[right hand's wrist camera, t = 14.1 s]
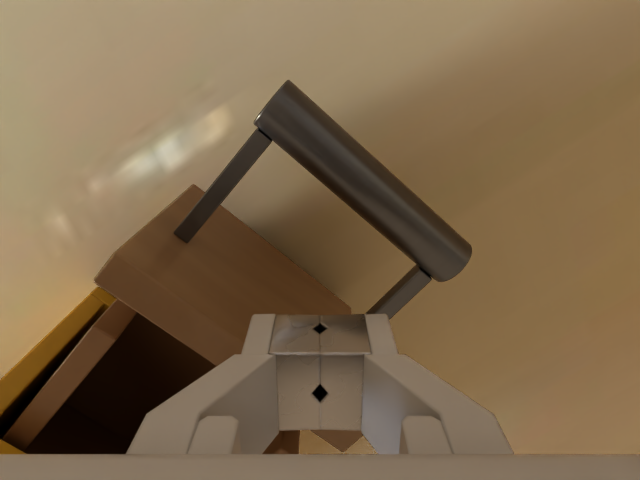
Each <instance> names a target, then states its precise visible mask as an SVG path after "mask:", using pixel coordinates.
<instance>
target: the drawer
mask: <svg viewBox="0 0 640 480" xmlns="http://www.w3.org/2000/svg"><path fill="white" fill-rule="evenodd" d="M254 125H255V126H257V127H258V128H257V129H256V130H255V132H254V133H253V134H252V135H251V137H250V138H249V139H248V140H247V141H246V143H245V144H244V145H243V146H242V148H241V149H240V150H239V151H238V153H237V154H236V155H235V156H234V158H233V159H232V160H231V161H230V163H229V164H228V165H227V166H226V168H225V169H224V170H223V171H222V173H221V174H220V175H219V176H218V177H217V179H216V180H215V181H214V182H213V184H212V185H211V186H210V187H209V189H208V190H207V191H206V192H204V191H202V190H201V189H200V188H198V187H197V186H196V185H194V184H193V185H191V186H190V187H189V188H188V189H187V190H186V191H184V192H183V193H182V194H181V195H180V196H179V197H178V198H176V199H175V200H174V201H173V202H172V203H171V204H169V205H168V206H167V207H166V208H165V209H164V210H163V211H161V212H160V213H159V214H158V215H157V216H156V217H154V218H153V219H152V220H151V221H150V222H149V223H148V224H146V225H145V226H144V227H143V228H142V229H141V230H140V231H138V232H137V233H136V234H135V235H134V236H133V237H131V238H130V239H129V240H128V241H127V242H126V243H125V244H123V245H122V246H121V247H120V248H119V249H118V250H116V251H115V252H114V253H113V255H112V256H111V257H110V258H109V260H108V261H107V262H106V264H105V265H104V266H103V268H102V269H101V270H100V271H99V273H98V274H97V275H96V277H95V278H94V283H95V284H97V285H98V286H100V287H101V288H103V289H104V290H106V291H107V292H109V293H110V294H112V295H113V296H115V297H116V298H117V299H116V300H115V301H114V302H113V303H112V304H111V305H110V307H109V308H108V309H107V310H106V311H105V312H104V313H103V314H102V315H101V316H100V318H99V319H98V320H97V321H96V322H95V323H94V324H93V325H92V327H91V328H90V329H89V330H88V332H87V333H86V334H85V335H84V337H83V338H82V339H81V340H80V342H79V343H78V344H77V345H76V347H75V348H74V349H73V350H72V352H71V353H70V354H69V355H68V357H67V358H66V359H65V360H64V362H63V363H62V364H61V365H60V367H59V368H58V369H57V370H56V372H55V373H54V374H53V375H52V377H51V378H50V379H49V380H48V382H47V383H46V384H45V385H44V387H43V388H42V389H41V390H40V392H39V393H38V394H37V395H36V397H35V398H34V399H33V400H32V402H31V403H30V404H29V405H28V407H27V408H26V409H25V410H24V412H23V413H22V414H21V415H20V417H19V418H18V419H17V420H16V422H15V423H14V424H13V425H12V427H11V428H10V429H9V430H8V432H7V433H6V434H5V435H4V437H3V438H2V439H1V440H3V441H5V442H7V443H8V444H10V445H12V446H14V447H15V448H17V449H19V450H21V451H23V452H24V453H26V454H126V452H127V450H128V448H129V447H130V445H131V443H132V441H133V439H134V437H135V435H136V433H137V431H138V429H139V427H140V425H141V423H142V422H143V420H144V418H145V416H146V414H147V413H148V412H150V411H151V410H153V409H154V408H156V407H157V406H159V405H160V404H162V403H163V402H165V401H166V400H168V399H169V398H171V397H172V396H174V395H175V394H177V393H178V392H180V391H181V390H183V389H184V388H186V387H187V386H188V385H190V384H191V383H193V382H194V381H196V380H197V379H199V378H200V377H202V376H203V375H205V374H206V373H208V372H209V371H211V370H212V369H214V368H215V367H217V366H218V365H220V364H221V363H223V362H224V361H226V360H227V359H229V358H230V357H232V356H233V355H234V354H241V353H242V349H243V346H244V342H245V339H246V335H247V332H248V328H249V325H250V321H251V318H252V316H253V315H254V314H276V315H277V314H296V315H351V308H350V307H349V306H348V305H347V304H345V303H344V302H343V301H342V300H340V299H339V298H338V297H337V296H335V295H334V294H333V293H331V292H330V291H329V290H328V289H326V288H325V287H324V286H323V285H321V284H320V283H319V282H318V281H316V280H315V279H314V278H312V277H311V276H310V275H309V274H307V273H306V272H305V271H304V270H302V269H301V268H300V267H299V266H297V265H296V264H295V263H293V262H292V261H291V260H290V259H288V258H287V257H286V256H285V255H283V254H282V253H281V252H280V251H278V250H277V249H276V248H274V247H273V246H272V245H271V244H269V243H268V242H267V241H266V240H264V239H263V238H262V237H261V236H259V235H258V234H257V233H255V232H254V231H253V230H252V229H250V228H249V227H248V226H247V225H245V224H244V223H243V222H242V221H240V220H239V219H238V218H236V217H235V216H234V215H233V214H231V213H230V212H229V211H228V210H226V209H225V208H224V207H223V206H221V205H220V204H221V203H222V202H223V200H224V199H225V198H226V197H227V196H228V194H229V193H230V192H231V191H232V189H233V188H234V187H235V186H236V185H237V183H238V182H239V181H240V180H241V179H242V177H243V176H244V175H245V174H246V172H247V171H248V170H249V169H250V168H251V166H252V165H253V164H254V163H255V162H256V160H257V159H258V158H259V157H260V156H261V154H262V153H263V152H264V151H265V149H266V148H267V147H268V146H269V145H270V143H271V142H272V141H274V142H275V143H276V144H277V145H279V146H280V147H281V148H282V149H283V150H284V151H286V152H287V153H288V154H289V155H290V156H291V157H293V158H294V159H295V160H296V161H297V162H298V163H300V164H301V165H302V166H303V167H304V168H305V169H307V170H308V171H309V172H310V173H311V174H312V175H314V176H315V177H316V178H317V179H318V180H319V181H321V182H322V183H323V184H324V185H325V186H326V187H327V188H329V189H330V190H331V191H332V192H333V193H334V194H336V195H337V196H338V197H339V198H340V199H341V200H343V201H344V202H345V203H346V204H347V205H348V206H350V207H351V208H352V209H353V210H354V211H355V212H357V213H358V214H359V215H360V216H361V217H362V218H364V219H365V220H366V221H367V222H368V223H369V224H371V225H372V226H373V227H374V228H375V229H376V230H377V231H379V232H380V233H381V234H382V235H383V236H384V237H386V238H387V239H388V240H389V241H390V242H391V243H393V244H394V245H395V246H396V247H397V248H398V249H400V250H401V251H402V252H403V253H404V254H405V255H407V256H408V257H409V258H410V259H411V260H412V261H414V262H415V263H416V265H415V266H414V267H413V268H412V269H411V270H410V271H409V272H408V273H407V274H406V275H405V276H404V277H403V278H402V279H401V280H400V281H399V282H398V283H397V284H396V285H395V286H394V287H393V288H392V289H390V290H389V291H388V292H387V293H386V294H385V295H384V296H383V297H382V298H381V299H380V300H379V301H378V302H377V303H376V304H375V305H374V306H373V307H372V308H371V309H370V310H369V311H368V312H367V313H366V314H387V315H388V318H389V319H390V318H392V317H393V316H394V315H395V314H396V313H397V312H398V311H399V310H400V309H401V308H402V307H403V306H404V305H405V304H406V303H407V302H409V301H410V300H411V299H412V298H413V297H414V296H415V295H416V294H417V293H418V292H419V291H420V290H421V289H422V288H423V287H425V286H426V285H427V284H428V283H429V282H430V281H431V277H432V278H433V279H434V280H436V281H438V282H444V281H447V280H450V279H451V278H453V277H455V276H456V275H457V274H458V273H459V272H460V271H461V270H462V269H463V268H464V267H465V266H466V264H467V263H468V261H469V259H470V257H471V254H472V248H471V245H470V244H469V243H468V242H467V241H466V240H465V239H463V238H462V237H461V236H460V235H459V234H458V233H457V232H456V231H455V230H454V229H452V228H451V227H450V226H449V225H448V224H447V223H446V222H445V221H444V220H443V219H441V218H440V217H439V216H438V215H437V214H436V213H435V212H434V211H433V210H432V209H431V208H429V207H428V206H427V205H426V204H425V203H424V202H423V201H422V200H421V199H420V198H418V197H417V196H416V195H415V194H414V193H413V192H412V191H411V190H410V189H409V188H407V187H406V186H405V185H404V184H403V183H402V182H401V181H400V180H399V179H398V178H396V177H395V176H394V175H393V174H392V173H391V172H390V171H389V170H388V169H387V168H386V167H384V166H383V165H382V164H381V163H380V162H379V161H378V160H377V159H376V158H375V157H373V156H372V155H371V154H370V153H369V152H368V151H367V150H366V149H365V148H364V147H362V146H361V145H360V144H359V143H358V142H357V141H356V140H355V139H354V138H353V137H351V136H350V135H349V134H348V133H347V132H346V131H345V130H344V129H343V128H342V127H340V126H339V125H338V124H337V123H336V122H335V121H334V120H333V119H332V118H331V117H330V116H328V115H327V114H326V113H325V112H324V111H323V110H322V109H321V108H320V107H319V106H317V105H316V104H315V103H314V102H313V101H312V100H311V99H310V98H309V97H308V96H306V95H305V94H304V93H303V92H302V91H301V90H300V89H299V88H298V87H297V86H295V85H294V84H293V83H292V82H291V81H290V80H287V81H286V82H285V83H284V84H283V85H282V86H281V87H280V89H279V90H278V91H277V92H276V93H275V95H274V96H273V97H272V98H271V99H270V101H269V102H268V103H267V104H266V106H265V107H264V108H263V109H262V111H261V112H260V113H259V115H258V116H257V118H256V119H255V120H254ZM430 276H431V277H430ZM311 431H312V432H314V433H315V434H317V435H318V436H319V437H321V438H322V439H324V440H325V441H327V442H328V443H330V444H331V445H333V446H334V447H336V448H337V449H339V450H340V451H341V452H344V451H345V450H347V449H348V448H349V447H350V446H351V445H352V444H354V443H355V442H356V441H357V440H358V439H359V438H360V437H362V436H363V434H362V433H361V431H356V430H320V429H319V430H311ZM299 434H300V430H284V431H279V433H278V435H277V436H276V437H275V438H274V440H273V441H272V442H271V443H270V445H269V446H268V447H267V448H266V450H265V451H264V452H263V453H262V454H298V452H299Z"/></svg>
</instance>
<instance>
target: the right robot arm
mask: <svg viewBox="0 0 640 480" xmlns="http://www.w3.org/2000/svg"><path fill="white" fill-rule="evenodd" d="M319 429H320V430H356V431H361V433H362V434H363V435H364V437H365V438H366V439H367V440H368V442H369V443H370V444H371V445H372V447H373V448H374V449H375V450H376V452H377V453H378V454H262V453H263V452H264V451H265V450H266V448H267V447H268V446H269V445H270V443H271V442H272V441H273V440H274V438H275V437H276V436H277V435H278V433H279V431H284V430H319ZM0 480H640V454H514V452H513V450H512V448H511V446H510V445H509V443H508V441H507V439H506V437H505V435H504V433H503V431H502V429H501V427H500V425H499V423H498V421H497V419H496V417H495V415H494V414H493V413H491V412H490V411H488V410H487V409H485V408H484V407H482V406H481V405H479V404H478V403H476V402H475V401H473V400H472V399H471V398H469V397H468V396H466V395H465V394H463V393H462V392H460V391H459V390H457V389H456V388H454V387H453V386H451V385H450V384H448V383H447V382H445V381H444V380H442V379H441V378H440V377H438V376H437V375H435V374H434V373H432V372H431V371H429V370H428V369H426V368H425V367H423V366H422V365H420V364H419V363H417V362H416V361H414V360H413V359H411V358H410V357H408V356H407V355H406V354H399V353H398V349H397V346H396V342H395V339H394V335H393V332H392V329H391V325H390V322H389V318H388V315H387V314H351V315H296V314H277V315H276V314H254V315H253V316H252V318H251V321H250V325H249V328H248V332H247V335H246V339H245V342H244V346H243V349H242V353H241V354H234V355H233V356H232V357H230V358H229V359H227V360H226V361H224V362H223V363H221V364H220V365H218V366H217V367H215V368H214V369H212V370H211V371H209V372H208V373H206V374H205V375H203V376H202V377H200V378H199V379H197V380H196V381H194V382H193V383H191V384H190V385H188V386H187V387H186V388H184V389H183V390H181V391H180V392H178V393H177V394H175V395H174V396H172V397H171V398H169V399H168V400H166V401H165V402H163V403H162V404H160V405H159V406H157V407H156V408H154V409H153V410H151V411H150V412H148V413H147V414H146V416H145V418H144V420H143V422H142V423H141V425H140V427H139V429H138V431H137V433H136V435H135V437H134V439H133V441H132V443H131V445H130V447H129V448H128V450H127V452H126V454H0Z"/></svg>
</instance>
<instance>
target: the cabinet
mask: <svg viewBox="0 0 640 480" xmlns="http://www.w3.org/2000/svg"><path fill="white" fill-rule="evenodd" d="M115 300H116V298H115V297H113V296H112V295H110V294H109V293H108V292H106V291H105V290H103V289H102V288H100V287H97V288H95V289H94V290H93V291H92V292H91V293H90V294H89V295H88V296H87V297H86V298H85V299H84V300H83V301H82V302H81V303H80V304H79V305H78V306H77V307H76V308H75V309H74V310H73V311H71V312H70V313H69V314H68V315H67V316H66V317H65V318H64V319H63V320H62V321H61V322H60V323H59V324H58V325H57V326H56V327H55V328H54V329H53V330H52V331H51V332H50V333H48V334H47V335H46V336H45V337H44V338H43V339H42V340H41V341H40V342H39V343H38V344H37V345H36V346H35V347H34V348H33V349H32V350H31V351H30V352H29V353H28V354H27V355H25V356H24V357H23V358H22V359H21V360H20V361H19V362H18V363H17V364H16V365H15V366H14V367H13V368H12V369H11V370H10V371H9V372H8V373H7V374H6V375H5V376H4V377H2V378H1V379H0V454H26V453H24V452H23V451H21V450H19V449H17V448H15V447H14V446H12V445H10V444H8V443H7V442H5V441H3V440H1V439H2V438H3V437H4V435H5V434H6V433H7V432H8V430H9V429H10V428H11V427H12V425H13V424H14V423H15V422H16V420H17V419H18V418H19V417H20V415H21V414H22V413H23V412H24V410H25V409H26V408H27V407H28V405H29V404H30V403H31V402H32V400H33V399H34V398H35V397H36V395H37V394H38V393H39V392H40V390H41V389H42V388H43V387H44V385H45V384H46V383H47V382H48V380H49V379H50V378H51V377H52V375H53V374H54V373H55V372H56V370H57V369H58V368H59V367H60V365H61V364H62V363H63V362H64V360H65V359H66V358H67V357H68V355H69V354H70V353H71V352H72V350H73V349H74V348H75V347H76V345H77V344H78V343H79V342H80V340H81V339H82V338H83V337H84V335H85V334H86V333H87V332H88V330H89V329H90V328H91V327H92V325H93V324H94V323H95V322H96V321H97V320H98V319H99V318H100V316H101V315H102V314H103V313H104V312H105V311H106V310H107V309H108V308H109V307H110V305H111V304H112V303H113V302H114V301H115Z"/></svg>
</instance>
